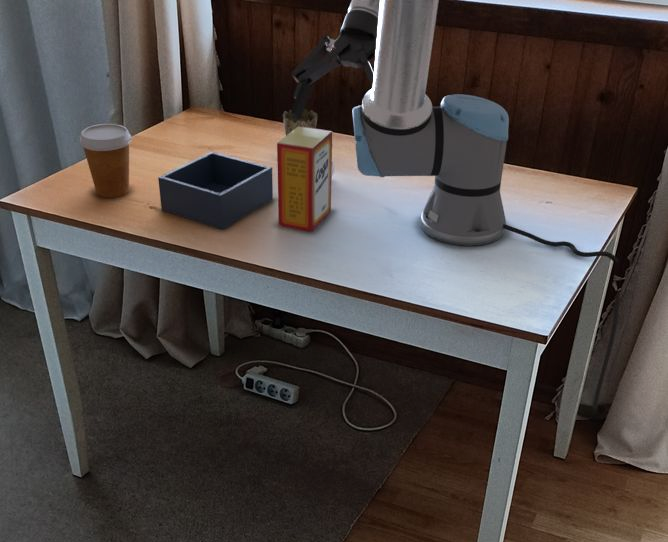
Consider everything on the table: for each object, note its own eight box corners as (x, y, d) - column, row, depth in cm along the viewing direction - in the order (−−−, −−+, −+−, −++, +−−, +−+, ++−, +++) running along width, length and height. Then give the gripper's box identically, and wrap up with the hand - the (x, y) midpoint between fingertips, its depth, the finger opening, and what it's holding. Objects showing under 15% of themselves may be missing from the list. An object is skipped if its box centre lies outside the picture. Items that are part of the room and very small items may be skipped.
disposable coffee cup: (110, 205, 161) (101, 144, 155) (77, 192, 166) (67, 132, 159) (147, 189, 168) (141, 130, 161) (115, 177, 172) (107, 119, 166)
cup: (282, 144, 189) (281, 108, 185) (315, 143, 190) (315, 108, 186) (284, 156, 183) (283, 120, 179) (318, 155, 184) (318, 119, 179)
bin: (273, 199, 165) (272, 167, 161) (222, 229, 154) (220, 195, 150) (213, 182, 171) (211, 151, 167) (161, 210, 160) (158, 177, 156)
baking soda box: (299, 205, 163) (298, 123, 154) (330, 211, 161) (332, 129, 152) (278, 225, 156) (276, 141, 147) (311, 231, 154) (312, 146, 145)
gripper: (432, 40, 157) (394, 144, 155) (313, 23, 167) (276, 120, 164) (423, 16, 150) (384, 124, 148) (300, -1, 160) (261, 101, 157)
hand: (327, 122), depth 156 cm, fingers open, 13 cm apart
